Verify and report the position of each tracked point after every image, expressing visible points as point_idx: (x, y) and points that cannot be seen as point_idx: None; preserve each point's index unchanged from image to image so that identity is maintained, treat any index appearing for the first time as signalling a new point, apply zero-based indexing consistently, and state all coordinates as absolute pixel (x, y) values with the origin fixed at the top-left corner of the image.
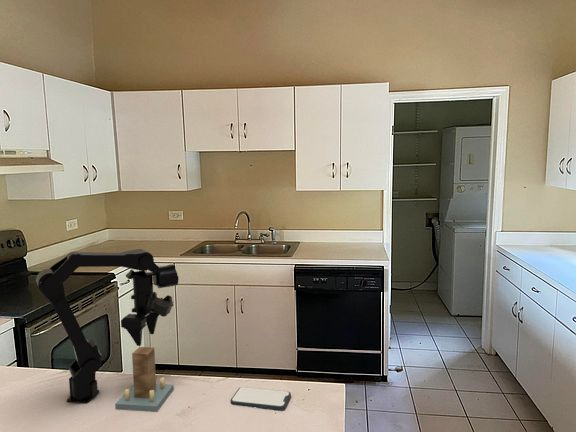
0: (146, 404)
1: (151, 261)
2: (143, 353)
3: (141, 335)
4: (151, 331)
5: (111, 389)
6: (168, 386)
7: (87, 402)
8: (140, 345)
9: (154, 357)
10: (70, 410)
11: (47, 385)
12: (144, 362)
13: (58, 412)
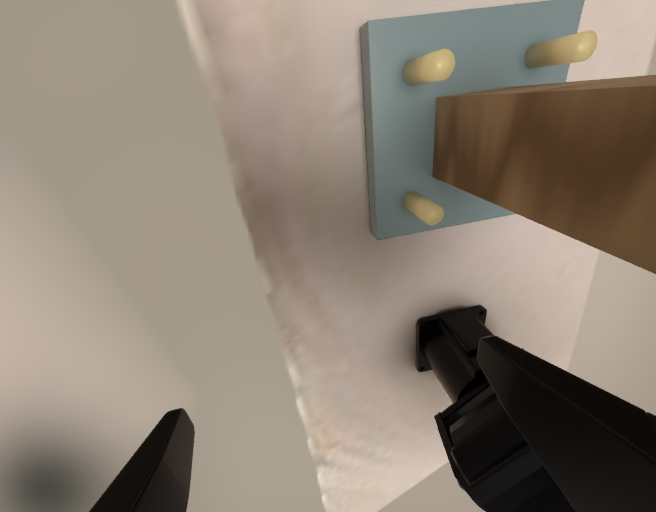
0: (559, 69)
1: None
2: None
3: (623, 425)
4: (181, 452)
5: (396, 299)
6: (392, 44)
7: (482, 306)
8: (493, 336)
9: (635, 85)
10: (513, 317)
11: (395, 440)
12: None
13: (520, 335)
